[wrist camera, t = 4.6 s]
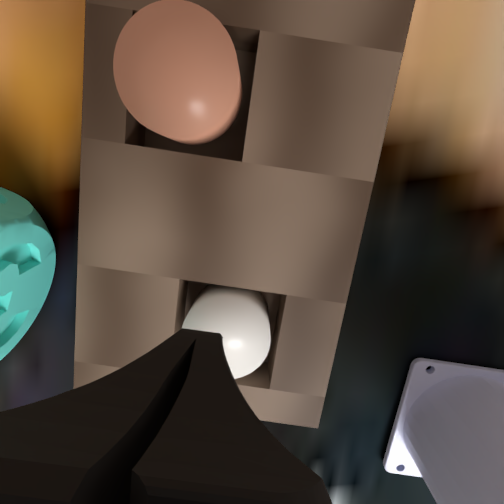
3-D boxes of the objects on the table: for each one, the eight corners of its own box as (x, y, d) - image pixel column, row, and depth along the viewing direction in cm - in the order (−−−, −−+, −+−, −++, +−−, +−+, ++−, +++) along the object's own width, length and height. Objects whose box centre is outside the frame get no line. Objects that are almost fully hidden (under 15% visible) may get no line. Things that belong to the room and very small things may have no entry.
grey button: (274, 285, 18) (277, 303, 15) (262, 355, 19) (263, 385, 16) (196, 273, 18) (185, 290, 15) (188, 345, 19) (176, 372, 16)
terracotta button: (249, 43, 14) (246, 10, 11) (234, 151, 15) (229, 145, 12) (145, 27, 14) (116, -11, 11) (137, 136, 15) (109, 127, 12)
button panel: (391, 9, 16) (421, -30, 13) (309, 392, 20) (317, 428, 17) (120, -34, 15) (88, -84, 13) (100, 362, 20) (73, 393, 17)
